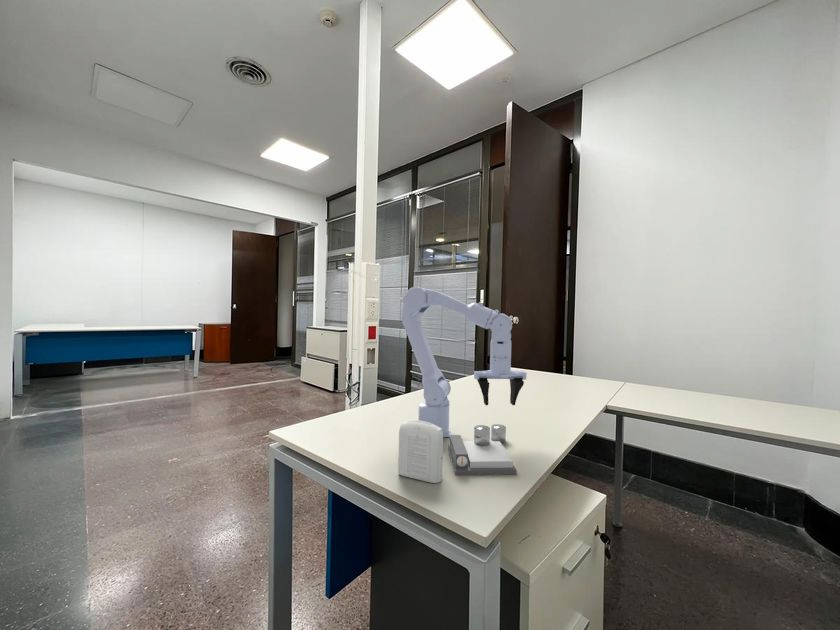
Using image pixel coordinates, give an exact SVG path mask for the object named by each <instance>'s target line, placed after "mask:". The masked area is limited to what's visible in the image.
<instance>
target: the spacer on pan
mask: <svg viewBox="0 0 840 630" xmlns="http://www.w3.org/2000/svg"><path fill="white" fill-rule="evenodd" d="M473 431H474V432H473V433H474V434H473V441H474V443H475V444H476V445H478V446H488V445H489V444H490V441H491V428H490V427H489V426H488V425H483V424H477V425H475V426H474V428H473Z"/></svg>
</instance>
